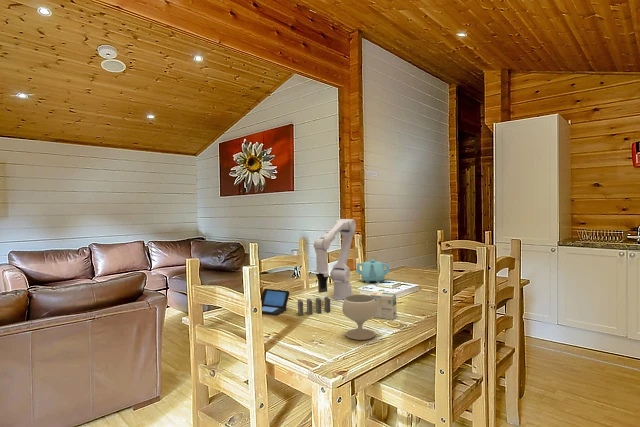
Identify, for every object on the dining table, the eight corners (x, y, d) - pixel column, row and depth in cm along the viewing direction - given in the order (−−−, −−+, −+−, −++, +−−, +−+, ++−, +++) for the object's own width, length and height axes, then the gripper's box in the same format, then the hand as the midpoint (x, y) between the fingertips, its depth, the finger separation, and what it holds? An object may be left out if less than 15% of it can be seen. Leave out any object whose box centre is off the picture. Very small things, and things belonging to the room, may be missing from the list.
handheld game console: (249, 313, 185) (248, 294, 185) (264, 305, 197) (263, 288, 197) (277, 316, 179) (276, 297, 178) (290, 308, 191) (290, 290, 190)
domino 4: (318, 292, 195) (317, 279, 194) (326, 291, 196) (326, 278, 196) (319, 292, 193) (318, 280, 193) (327, 291, 194) (326, 279, 194)
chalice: (353, 344, 142) (352, 305, 141) (337, 332, 155) (336, 296, 154) (384, 337, 148) (383, 300, 147) (366, 326, 160) (365, 292, 160)
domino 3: (319, 310, 185) (318, 297, 185) (321, 313, 181) (321, 300, 181) (315, 311, 185) (315, 298, 184) (318, 313, 180) (318, 300, 180)
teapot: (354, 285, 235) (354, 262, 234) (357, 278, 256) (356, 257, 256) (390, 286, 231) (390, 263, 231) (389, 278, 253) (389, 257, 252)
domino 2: (310, 311, 184) (309, 298, 184) (312, 314, 180) (312, 300, 179) (307, 312, 183) (306, 298, 183) (309, 314, 179) (308, 301, 179)
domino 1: (301, 312, 183) (300, 299, 182) (303, 315, 178) (302, 301, 178) (298, 313, 182) (297, 299, 182) (300, 315, 178) (299, 302, 178)
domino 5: (327, 309, 186) (327, 296, 186) (330, 312, 182) (330, 299, 182) (324, 310, 186) (324, 297, 186) (327, 312, 182) (326, 299, 181)
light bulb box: (396, 315, 175) (396, 292, 174) (393, 320, 168) (393, 296, 168) (374, 313, 179) (374, 290, 179) (370, 317, 173) (370, 294, 172)
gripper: (310, 260, 200) (311, 285, 200) (318, 264, 186) (319, 292, 186) (323, 259, 202) (324, 284, 202) (331, 263, 188) (332, 290, 188)
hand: (322, 287), depth 195 cm, fingers closed on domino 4, 1 cm apart
